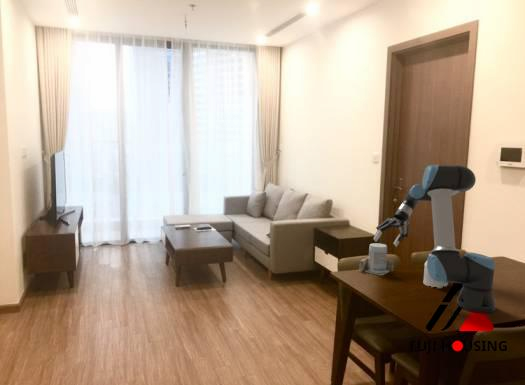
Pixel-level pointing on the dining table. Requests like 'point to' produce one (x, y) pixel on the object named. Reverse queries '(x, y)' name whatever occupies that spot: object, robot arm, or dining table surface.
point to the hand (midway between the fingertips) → (384, 242)
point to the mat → (377, 273)
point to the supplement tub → (377, 258)
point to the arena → (365, 264)
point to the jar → (429, 280)
